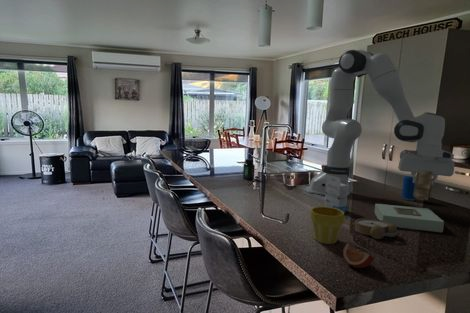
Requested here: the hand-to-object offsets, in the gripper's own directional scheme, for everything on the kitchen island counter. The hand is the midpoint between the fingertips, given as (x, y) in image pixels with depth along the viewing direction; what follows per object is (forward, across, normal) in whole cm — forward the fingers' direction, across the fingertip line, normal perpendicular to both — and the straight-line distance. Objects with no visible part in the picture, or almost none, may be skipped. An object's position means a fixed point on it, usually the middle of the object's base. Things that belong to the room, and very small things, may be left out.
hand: (422, 183), depth 132 cm
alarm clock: (+15, -22, -33) cm, 42 cm away
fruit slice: (+15, -31, -60) cm, 69 cm away
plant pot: (+15, -39, -45) cm, 62 cm away
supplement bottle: (+16, -83, +37) cm, 92 cm away
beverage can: (+12, +2, +22) cm, 26 cm away
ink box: (+14, -35, -10) cm, 39 cm away
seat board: (+13, -9, -16) cm, 22 cm away
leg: (+6, 0, 0) cm, 6 cm away
